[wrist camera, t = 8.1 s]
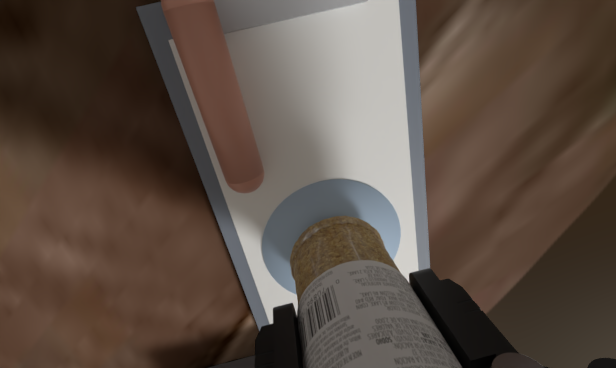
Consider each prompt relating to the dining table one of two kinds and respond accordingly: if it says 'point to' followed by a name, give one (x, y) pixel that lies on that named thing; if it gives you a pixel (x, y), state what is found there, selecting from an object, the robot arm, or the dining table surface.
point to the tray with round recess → (312, 130)
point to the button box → (238, 363)
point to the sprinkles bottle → (359, 303)
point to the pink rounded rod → (215, 89)
